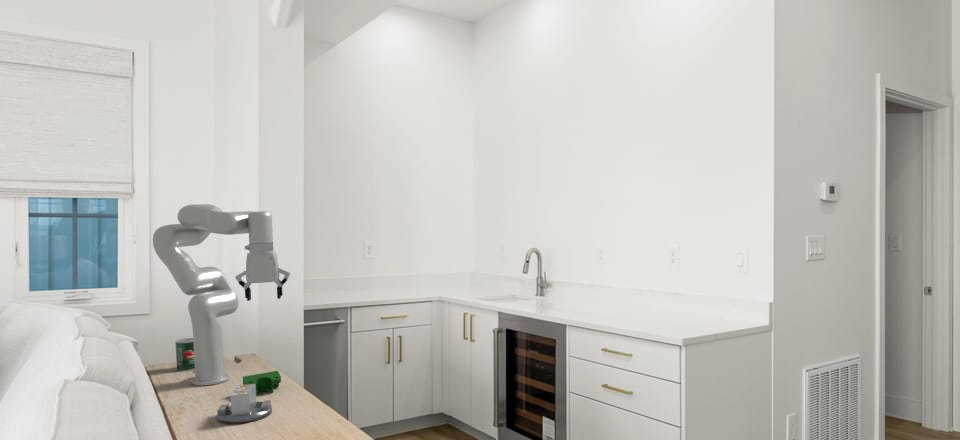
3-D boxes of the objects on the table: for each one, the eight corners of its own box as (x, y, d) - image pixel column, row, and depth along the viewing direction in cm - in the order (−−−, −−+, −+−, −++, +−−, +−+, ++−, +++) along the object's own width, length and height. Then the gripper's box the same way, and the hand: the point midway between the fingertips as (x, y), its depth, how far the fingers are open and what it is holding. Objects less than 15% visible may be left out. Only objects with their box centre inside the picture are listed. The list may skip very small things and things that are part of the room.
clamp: (252, 409, 200) (241, 388, 196) (249, 400, 204) (237, 379, 201) (287, 389, 204) (276, 368, 200) (283, 381, 209) (272, 360, 205)
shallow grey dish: (211, 426, 172) (211, 416, 172) (224, 409, 187) (223, 399, 187) (267, 421, 174) (266, 410, 174) (275, 404, 189) (274, 394, 189)
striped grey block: (231, 416, 175) (230, 395, 175) (239, 404, 185) (238, 385, 185) (250, 414, 176) (249, 393, 176) (256, 403, 186) (255, 383, 186)
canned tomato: (193, 370, 234) (191, 342, 234) (172, 371, 234) (171, 343, 234) (203, 365, 242) (201, 337, 242) (183, 366, 242) (181, 338, 242)
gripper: (231, 250, 199) (234, 302, 200) (286, 247, 202) (289, 299, 203) (236, 249, 207) (239, 299, 207) (289, 246, 210) (292, 295, 210)
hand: (264, 299), depth 205 cm, fingers open, 9 cm apart
